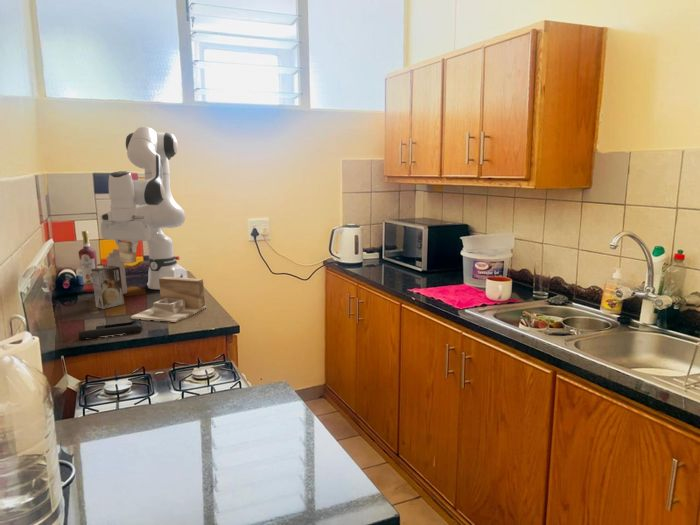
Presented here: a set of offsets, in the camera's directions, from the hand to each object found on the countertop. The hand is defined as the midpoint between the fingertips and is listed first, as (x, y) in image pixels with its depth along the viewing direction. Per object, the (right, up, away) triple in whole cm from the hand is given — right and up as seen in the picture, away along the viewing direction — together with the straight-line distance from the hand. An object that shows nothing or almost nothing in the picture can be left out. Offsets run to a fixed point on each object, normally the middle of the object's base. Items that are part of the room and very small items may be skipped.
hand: (127, 251), depth 202 cm
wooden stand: (+14, -24, +6) cm, 29 cm away
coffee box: (-15, -22, +19) cm, 33 cm away
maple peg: (0, -4, +1) cm, 4 cm away
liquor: (-35, -18, +44) cm, 59 cm away
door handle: (0, -29, -14) cm, 32 cm away
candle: (-22, -19, +37) cm, 47 cm away
